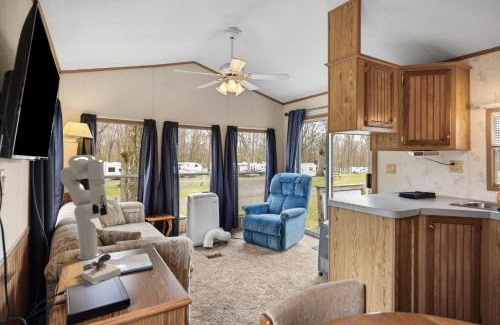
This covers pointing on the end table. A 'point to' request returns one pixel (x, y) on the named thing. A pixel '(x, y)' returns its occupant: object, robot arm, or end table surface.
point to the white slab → (101, 273)
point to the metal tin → (87, 267)
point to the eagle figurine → (101, 261)
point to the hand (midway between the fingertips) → (99, 214)
